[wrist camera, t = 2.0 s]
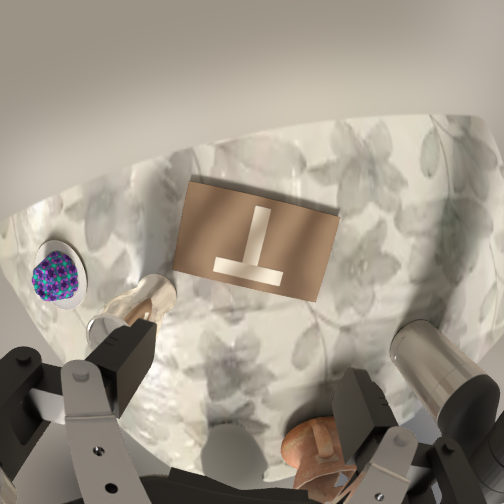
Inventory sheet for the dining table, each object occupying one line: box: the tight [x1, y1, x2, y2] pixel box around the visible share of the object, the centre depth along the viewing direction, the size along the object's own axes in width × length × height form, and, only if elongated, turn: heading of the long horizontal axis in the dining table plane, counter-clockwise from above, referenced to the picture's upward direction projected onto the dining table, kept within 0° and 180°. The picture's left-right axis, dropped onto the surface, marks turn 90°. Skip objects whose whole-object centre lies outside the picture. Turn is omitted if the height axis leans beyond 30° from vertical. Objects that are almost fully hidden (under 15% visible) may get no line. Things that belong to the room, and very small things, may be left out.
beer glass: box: [86, 274, 176, 352], centre depth 33 cm, size 7×7×15 cm
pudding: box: [32, 240, 87, 310], centre depth 38 cm, size 12×12×5 cm
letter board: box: [172, 181, 340, 302], centre depth 38 cm, size 20×12×1 cm, turn 77°
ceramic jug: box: [281, 417, 357, 504], centre depth 39 cm, size 18×14×14 cm
